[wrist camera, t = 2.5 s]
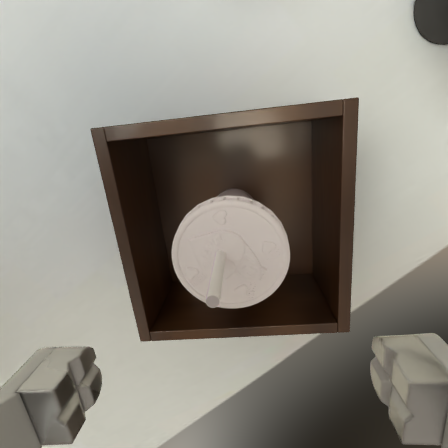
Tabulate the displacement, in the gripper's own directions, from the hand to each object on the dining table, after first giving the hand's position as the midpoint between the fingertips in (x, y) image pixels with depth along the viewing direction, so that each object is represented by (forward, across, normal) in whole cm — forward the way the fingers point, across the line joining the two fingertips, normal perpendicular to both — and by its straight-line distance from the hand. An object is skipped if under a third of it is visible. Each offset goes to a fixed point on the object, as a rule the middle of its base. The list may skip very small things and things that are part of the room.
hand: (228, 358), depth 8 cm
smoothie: (+17, 0, 0) cm, 17 cm away
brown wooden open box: (+17, 0, 0) cm, 17 cm away
